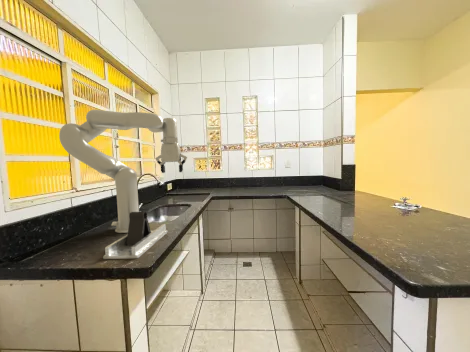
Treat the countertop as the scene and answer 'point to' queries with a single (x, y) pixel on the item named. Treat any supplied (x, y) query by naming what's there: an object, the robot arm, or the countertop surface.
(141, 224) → the phone stand
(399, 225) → the countertop surface
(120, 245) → the aluminium track
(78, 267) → the countertop surface
